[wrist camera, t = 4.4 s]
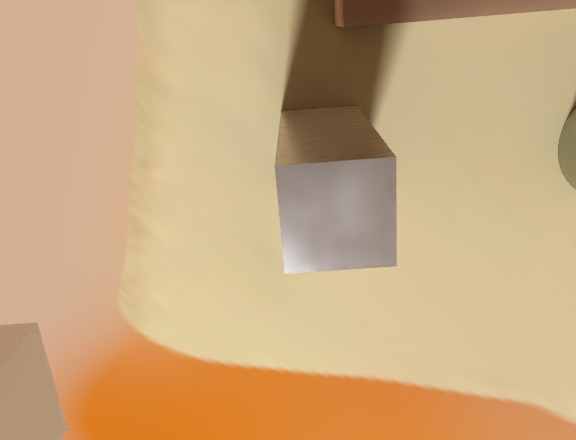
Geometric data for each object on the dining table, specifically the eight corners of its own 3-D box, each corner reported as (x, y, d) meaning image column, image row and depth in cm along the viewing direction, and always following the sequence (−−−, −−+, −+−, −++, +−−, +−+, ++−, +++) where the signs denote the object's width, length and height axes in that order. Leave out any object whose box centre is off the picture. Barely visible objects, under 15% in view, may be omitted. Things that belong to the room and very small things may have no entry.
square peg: (280, 111, 28) (275, 165, 17) (356, 105, 27) (396, 156, 17) (286, 183, 29) (284, 273, 19) (359, 178, 29) (396, 266, 19)
